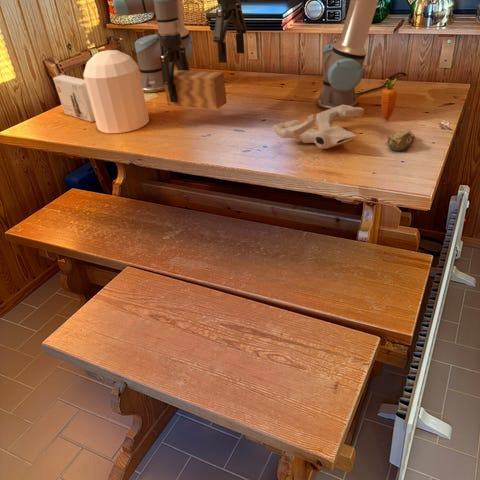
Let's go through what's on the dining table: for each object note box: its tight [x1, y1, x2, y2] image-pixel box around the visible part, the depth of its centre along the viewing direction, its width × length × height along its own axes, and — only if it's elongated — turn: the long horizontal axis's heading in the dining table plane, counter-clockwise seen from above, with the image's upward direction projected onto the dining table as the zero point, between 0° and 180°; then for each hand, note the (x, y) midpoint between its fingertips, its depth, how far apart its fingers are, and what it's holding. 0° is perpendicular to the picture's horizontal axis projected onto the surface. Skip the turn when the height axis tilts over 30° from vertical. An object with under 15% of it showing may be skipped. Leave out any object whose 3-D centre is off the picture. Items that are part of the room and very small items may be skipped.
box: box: [164, 69, 228, 110], centre depth 170 cm, size 22×7×11 cm, turn 64°
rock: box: [387, 129, 416, 152], centre depth 146 cm, size 11×6×10 cm
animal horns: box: [273, 105, 365, 150], centre depth 153 cm, size 28×26×12 cm
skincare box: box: [52, 74, 96, 123], centre depth 193 cm, size 21×6×16 cm, turn 49°
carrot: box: [380, 78, 398, 122], centre depth 161 cm, size 5×5×15 cm
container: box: [82, 49, 150, 134], centre depth 178 cm, size 21×21×28 cm
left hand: (179, 98), depth 175 cm, fingers closed on box, 7 cm apart
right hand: (231, 57), depth 164 cm, fingers open, 13 cm apart
